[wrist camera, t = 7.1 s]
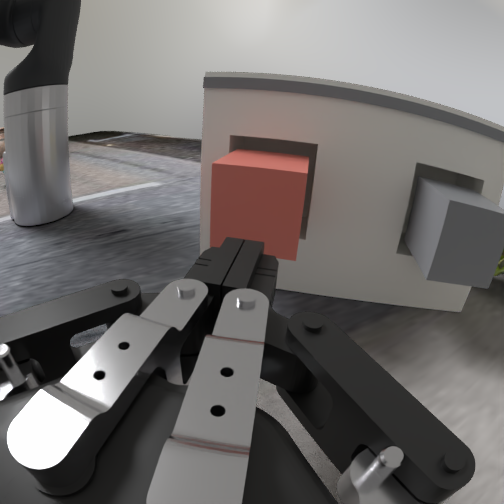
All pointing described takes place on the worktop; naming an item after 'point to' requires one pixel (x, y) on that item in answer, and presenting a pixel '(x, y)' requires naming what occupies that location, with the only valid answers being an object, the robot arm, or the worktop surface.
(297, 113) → the push button box
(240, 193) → the red button
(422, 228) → the grey button
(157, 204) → the worktop surface
